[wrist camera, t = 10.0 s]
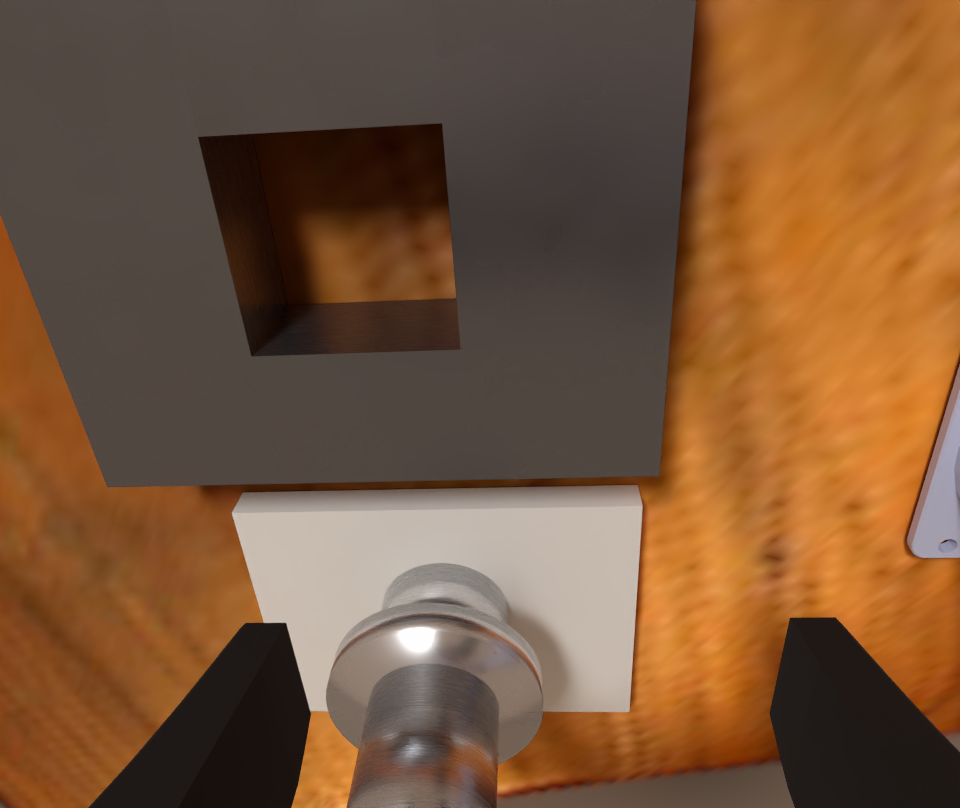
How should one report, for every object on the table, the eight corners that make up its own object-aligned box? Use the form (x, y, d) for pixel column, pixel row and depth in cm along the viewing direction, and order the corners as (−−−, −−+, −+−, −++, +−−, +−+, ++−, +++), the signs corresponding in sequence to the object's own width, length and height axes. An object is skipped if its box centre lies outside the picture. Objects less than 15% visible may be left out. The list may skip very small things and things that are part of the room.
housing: (673, -110, 14) (706, -128, 12) (642, 412, 21) (659, 476, 18) (-4, -58, 15) (-109, -64, 13) (157, 425, 22) (107, 487, 19)
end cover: (537, 535, 22) (546, 828, 14) (542, 673, 25) (551, 974, 17) (337, 539, 22) (245, 826, 15) (366, 674, 25) (301, 968, 18)
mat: (637, 484, 22) (642, 506, 21) (625, 687, 26) (629, 712, 25) (243, 492, 23) (231, 513, 22) (297, 687, 27) (289, 711, 26)
